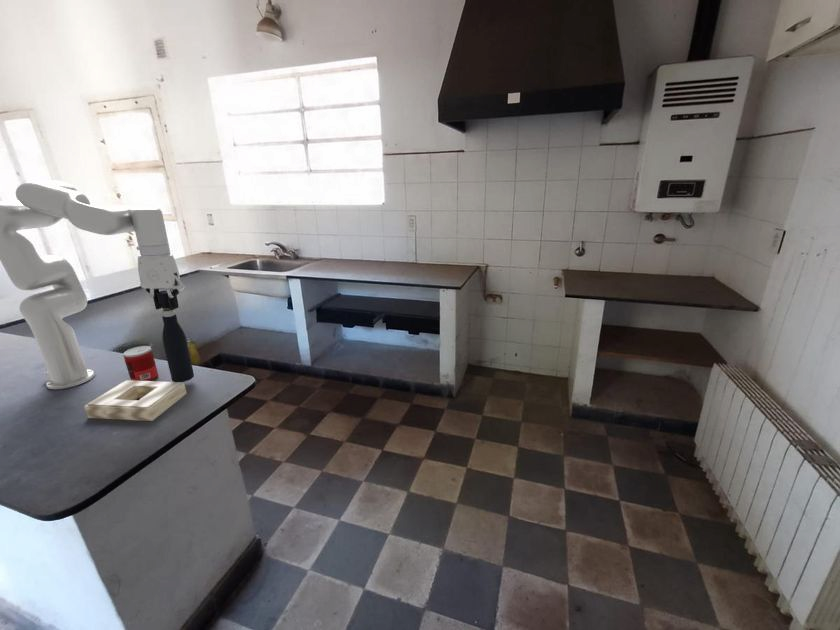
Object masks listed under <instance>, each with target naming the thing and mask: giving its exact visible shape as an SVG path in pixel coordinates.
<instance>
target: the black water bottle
mask: <svg viewBox="0 0 840 630" xmlns="http://www.w3.org/2000/svg"><path fill="white" fill-rule="evenodd" d="M157 298H158V302H159V304H162V308H161V309H162V311H161V312H162V322H163V328H162V343H163V347H164V348H163V350H164V353H165V357H166V361H167V366H168V369H169V373H170V378H171V382H181V383H185V382H188V381H190V380H191V379H193V378H194V376H195V374H194V368H193V364H192V363H193V362H192V359H191V355H190V354H191V353H190V349H189V346H188V340H187V336H186V333H185V332H184V329H183V328H182V326H181V325H180V324H179V321H178V317H177V314H176V313H175V309H174V310H170V308H169V304H168V298H169V296H168V293H167V291H166V290H160V292H157Z"/></svg>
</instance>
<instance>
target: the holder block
mask: <svg viewBox="0 0 840 630" xmlns="http://www.w3.org/2000/svg"><path fill="white" fill-rule="evenodd" d="M187 394H188V393H187V389H186V386H185V382H173V381H159V380H158V381H157V380H156V381H155V380H153V381H135V380H131V379H130V380H129V379H127V380H124V381H123V382H121V383H119V384H117V385H116V386H114V387H113V388H111V389H110V390H108V391H106V392H104V393H103V394H101V395H100V396H98V397H97V398H95V399H93V400H91V401H90V402H88V403H87V404H85V405H84V409H85V412H86V415H87V417H88V419H100V420H101V419H104V420H105V419H106V420H122V421H123V420H125V421H126V420H127V421H146V422H153V421H154V420H156V419H157V418H158V417H159V416H160V415H162V414H163V413H165V412H166V411H167V410H168V409H170V407H172V406H173V405H174V404H176V403H177V402H178V401H179V400H181V399H182V398H183V397H185V396H186V395H187ZM138 398H139V400H138Z"/></svg>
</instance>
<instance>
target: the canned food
mask: <svg viewBox="0 0 840 630" xmlns="http://www.w3.org/2000/svg"><path fill="white" fill-rule="evenodd" d="M122 354H123V355H122V356H123V359H124V362H125V363H124V364H125V365H126V369H127V372H128V376H129V379H130V380H135V381H155V380H156V379H157V378H158V377H159V372H158V368H157V365H156V361H155V356H154V353H153V349H152V347H151V346H149V345H141V346H136V347H135V346H134V347H132V348H129V349H127V350H126V351H124V352H123V353H122Z"/></svg>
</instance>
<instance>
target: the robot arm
mask: <svg viewBox="0 0 840 630" xmlns="http://www.w3.org/2000/svg"><path fill="white" fill-rule="evenodd" d="M15 197H16V199H17V200H0V262H1V264H2V266H3V268H4V270H5V272H6V274H7V275H8V278H9V280H10V281H11V283H12V284H13V285H14V286H15V287H16V289H18V290H21V291H33V290H35V291H36V290H38V289H43V288H46V287H50V286H52V287H53V289H50V290H45V291H42V292H38V293H35V294H31V295H30V296H27V297H26V298H24V299H23V300H22V301H21V302H20V304H19V311H20V314H21V316H22V318H24V320H25V321H26V323H27V325H28V327H29V328H30V331H31V332H32V334H33V336H34V338H35V341H36V343H37V346H38V349H39V351H40V354H41V357H42V359H43V361H44V365H45V367H46V369H45V371H43V372H42V375H41V376H43V377H48V381H47V382H46V385H45V386H46V387H47V389H50V390H64V389H69V388H72V387H77V386H80V385H82V384H84V383H87V382H89V381H90V380H92V379H93V378H94V377H95V370H93V369H88V368H87V365H86V361H85V359H84V356H83V354H82V353H83V352H82V350H81V348H80V345H79V342H78V339H77V335H76V333H75V331H74V329H73V327H72V326H71V325H70V324H68V323H67V322H65V321H64V320H63V318H65V317H69V316H71V315H74V314H76V313H80V312H82V311H83V310H84V309H86V307H87V305H88V298H87V295H86V293H85V290H84V289H83V286H82V284H81V282H80V280H79V278H78V275H77V273H76V271H75V269H74V268H73V266H72V264H71V263H70V262H69V261H68V260H67V259H66V258H64V257H62V256H60V255H59V256H58V255H57V254H56V255H55V254H54V255H53V254H47V255H43V256H40V255H39V253H38V252H37V250H36V248H35V246H34V244H33V243H32V242H31V241H30V240H29V239H28V238H27V237H26V236H24V235H22V234H21V233H19V232H18V231H21V230H32V229H40V228H47V227H51V226H53V225H55V224H57V223H59V222H60V221H61V220H63V219H65V220H68V222H69V223H71V224H72V225H73V226H74V227H76V228H77V229H79V230H81V231H85V232H89V233H92V234H97V235H102V236H103V235H104V236H114V235H119V234H120V235H121V234H125V233H126V234H127V233H133V232H134V233H135V237H136V241H137V246H136V250H137V251H139V255H138V256H137V270H138V277H139V282H140V284H139V286H140V287H141V288H142V289H143V290H145V291H146V292H147V293H149V296H150V297H151V298H153V302H154V303H153V304H154V307H155V310H160V309H162V304H159V302H158V298H157V292H160V291H161V290H165V291H167V293H168V296H169V298H168V304H169V308H170V310H174V311H175V310H176V309H179V300H178V296H179V294H180V293H181V291H183V290H184V289H185V288H186V285H184V283H183V282H182V280H181V277H180V272H179V268H178V265H177V263H176V259H175V257H174V255H173V254H172V253H171V250H170V244H169V240H168V234H167V230H166V225H165V220H164V219H165V218H164V214H163V211H162V209H160V208H158V207H154V206H153V207H151V206H142V207H140V206H136V205H115V206H105V207H101V206H100V207H99V206H95V205H91V203H90V200H89V198H88V197H87V196H86V195H85V194H84V193H82V192H79V191H78V190H77V189H76V188H75V187H74V186H73V185H72V184H71V183H67V182H65V181H63V180H61V181H60V180H42V181H41V180H32V181H26V182H23V183H21V184H19V185H18V187H17V188H16V189H15Z"/></svg>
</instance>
